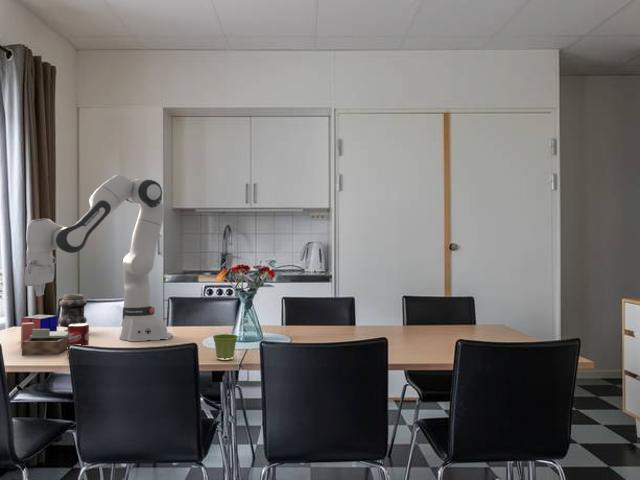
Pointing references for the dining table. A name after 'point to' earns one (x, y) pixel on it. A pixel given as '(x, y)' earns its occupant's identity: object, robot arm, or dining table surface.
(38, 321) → the puzzle cube
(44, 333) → the lid
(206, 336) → the dining table surface
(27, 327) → the key peg
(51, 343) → the brown wooden box
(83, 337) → the soda can
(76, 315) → the apothecary jar
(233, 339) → the plant pot
